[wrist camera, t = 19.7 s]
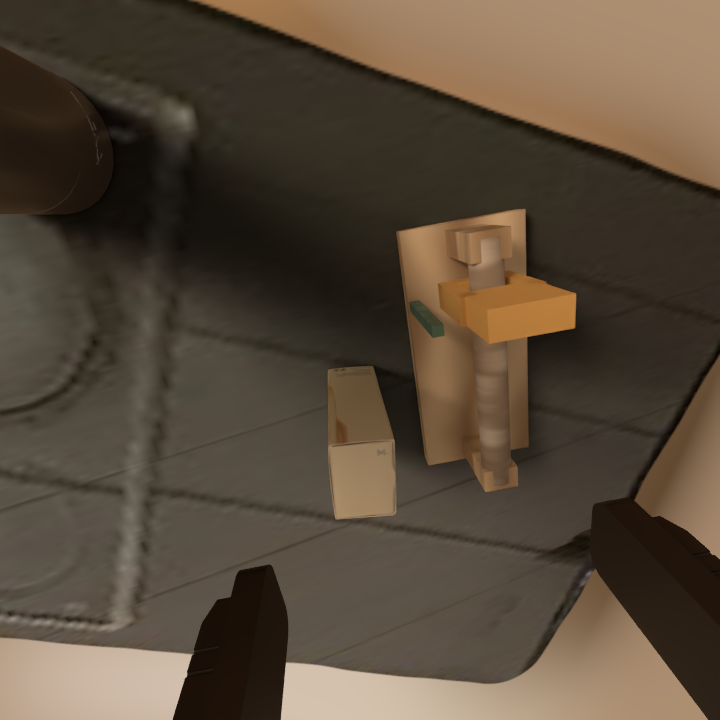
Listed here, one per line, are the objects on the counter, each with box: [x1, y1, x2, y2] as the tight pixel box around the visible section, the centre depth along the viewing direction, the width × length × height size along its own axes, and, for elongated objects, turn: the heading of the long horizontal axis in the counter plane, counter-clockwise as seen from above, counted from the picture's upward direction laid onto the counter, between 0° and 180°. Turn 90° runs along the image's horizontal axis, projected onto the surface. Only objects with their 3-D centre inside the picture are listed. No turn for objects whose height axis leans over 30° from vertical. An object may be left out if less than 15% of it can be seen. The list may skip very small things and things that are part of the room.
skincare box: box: [328, 366, 396, 519], centre depth 31 cm, size 6×4×12 cm
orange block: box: [438, 270, 576, 344], centre depth 26 cm, size 6×2×9 cm, turn 100°
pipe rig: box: [396, 209, 529, 492], centre depth 31 cm, size 10×22×9 cm, turn 10°
